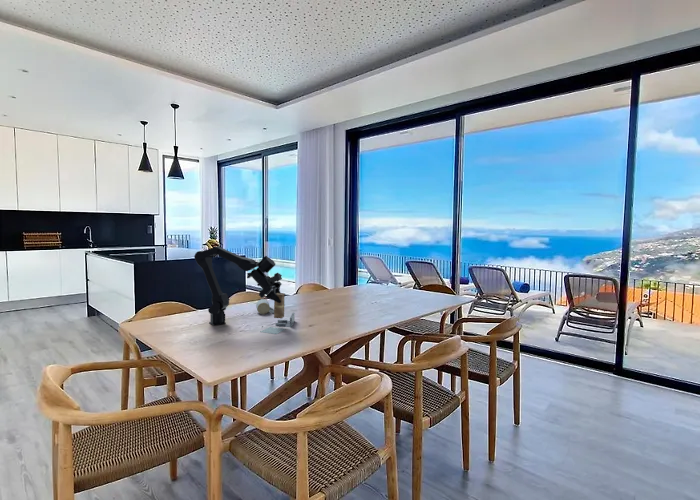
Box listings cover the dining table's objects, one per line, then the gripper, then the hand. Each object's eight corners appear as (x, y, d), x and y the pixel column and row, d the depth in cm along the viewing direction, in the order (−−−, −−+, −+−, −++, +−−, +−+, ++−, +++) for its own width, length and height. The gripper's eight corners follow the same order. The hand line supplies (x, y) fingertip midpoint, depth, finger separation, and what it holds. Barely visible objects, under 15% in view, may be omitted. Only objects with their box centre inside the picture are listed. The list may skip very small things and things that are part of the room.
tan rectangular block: (273, 317, 186) (274, 294, 185) (276, 315, 190) (276, 292, 189) (281, 318, 185) (282, 294, 185) (284, 316, 189) (284, 293, 189)
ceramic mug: (257, 315, 212) (257, 302, 211) (256, 311, 220) (256, 299, 219) (275, 314, 215) (276, 301, 215) (274, 311, 223) (274, 298, 223)
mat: (259, 332, 178) (259, 331, 178) (270, 327, 187) (270, 326, 187) (276, 334, 175) (276, 333, 175) (285, 330, 184) (285, 329, 184)
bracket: (274, 327, 187) (274, 317, 187) (278, 321, 199) (278, 312, 199) (291, 327, 188) (291, 318, 187) (294, 321, 200) (294, 312, 199)
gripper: (265, 270, 177) (287, 294, 177) (278, 266, 196) (298, 287, 195) (249, 285, 179) (271, 309, 178) (263, 280, 197) (283, 301, 197)
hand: (281, 301), depth 187 cm, fingers closed on tan rectangular block, 4 cm apart
